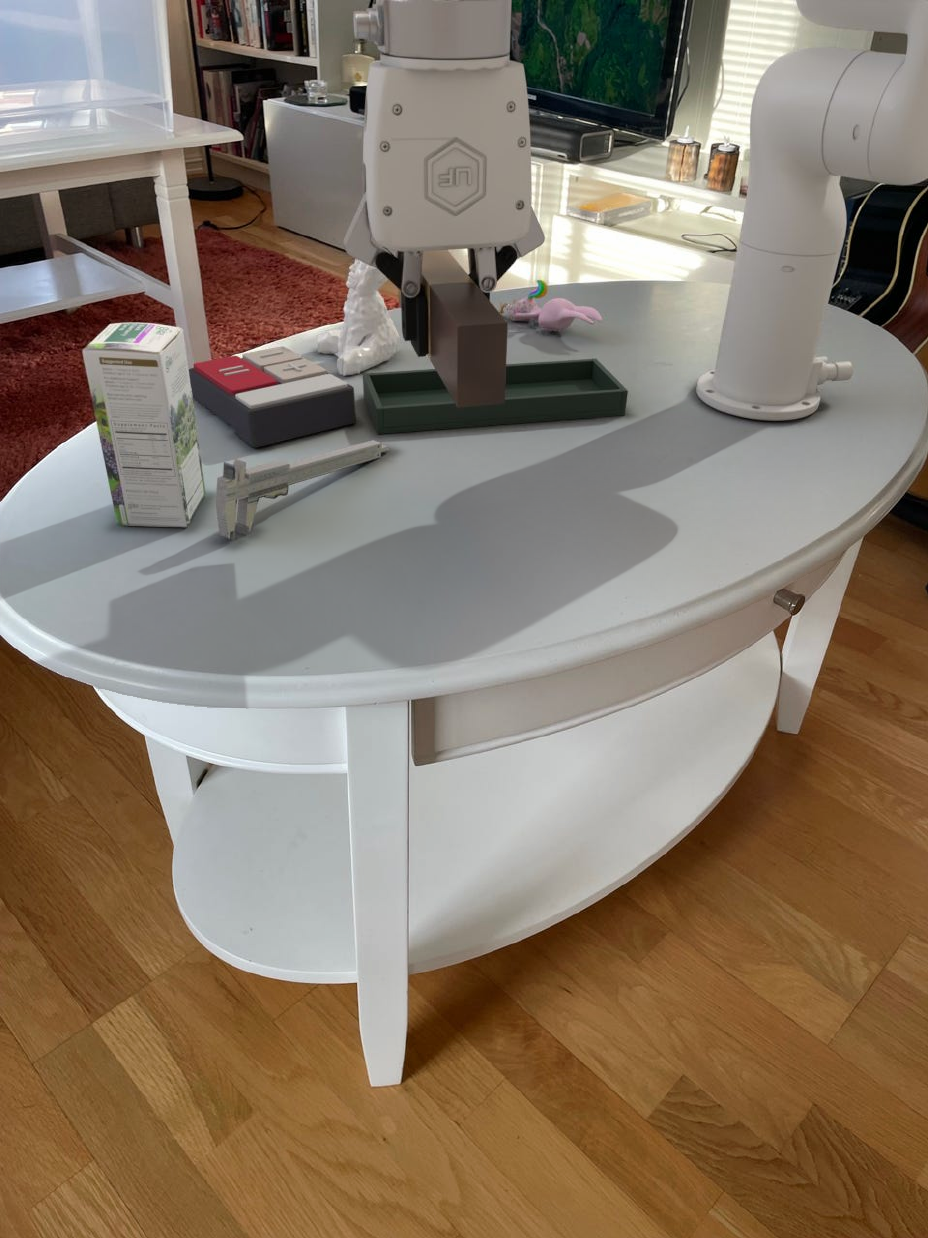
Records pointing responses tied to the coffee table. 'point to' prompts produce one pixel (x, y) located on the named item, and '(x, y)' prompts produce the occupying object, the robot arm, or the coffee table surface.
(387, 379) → the tray
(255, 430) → the calculator
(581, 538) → the coffee table surface
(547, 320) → the rabbit figure
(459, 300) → the two-tone wooden beam
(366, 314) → the sitting furry creature
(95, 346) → the syrup box
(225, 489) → the caliper
